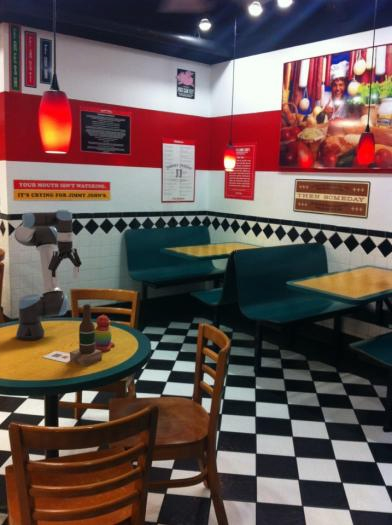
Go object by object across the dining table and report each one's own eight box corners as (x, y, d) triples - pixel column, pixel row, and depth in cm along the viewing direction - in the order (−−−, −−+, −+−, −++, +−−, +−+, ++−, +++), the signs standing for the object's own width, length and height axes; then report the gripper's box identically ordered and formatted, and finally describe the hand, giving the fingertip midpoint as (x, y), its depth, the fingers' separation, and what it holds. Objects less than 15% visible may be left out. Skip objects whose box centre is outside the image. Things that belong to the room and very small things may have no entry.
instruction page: (42, 357, 256) (42, 356, 256) (55, 351, 265) (55, 350, 265) (66, 363, 250) (66, 362, 250) (79, 356, 259) (79, 355, 259)
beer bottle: (80, 348, 257) (80, 302, 252) (96, 348, 257) (95, 302, 253) (78, 354, 249) (77, 306, 245) (94, 354, 250) (93, 307, 245)
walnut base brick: (70, 361, 252) (69, 352, 252) (86, 355, 261) (86, 346, 260) (85, 367, 246) (85, 357, 245) (101, 360, 255) (101, 350, 254)
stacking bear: (108, 352, 266) (108, 319, 263) (90, 350, 268) (90, 317, 265) (115, 345, 277) (115, 313, 273) (98, 343, 279) (98, 312, 275)
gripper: (50, 243, 246) (51, 286, 250) (88, 238, 267) (88, 278, 271) (40, 242, 251) (41, 284, 255) (78, 237, 271) (78, 276, 275)
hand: (65, 281), depth 263 cm, fingers open, 13 cm apart
